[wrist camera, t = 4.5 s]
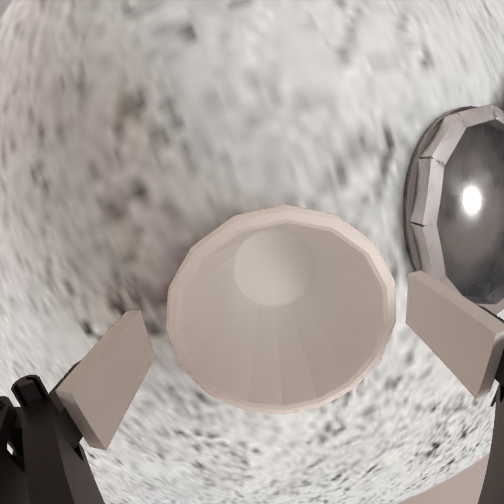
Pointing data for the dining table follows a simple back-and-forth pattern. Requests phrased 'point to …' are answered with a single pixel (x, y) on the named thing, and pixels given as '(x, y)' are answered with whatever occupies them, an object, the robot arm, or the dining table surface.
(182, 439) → the dining table surface
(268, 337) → the cup
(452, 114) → the grey saucepan
